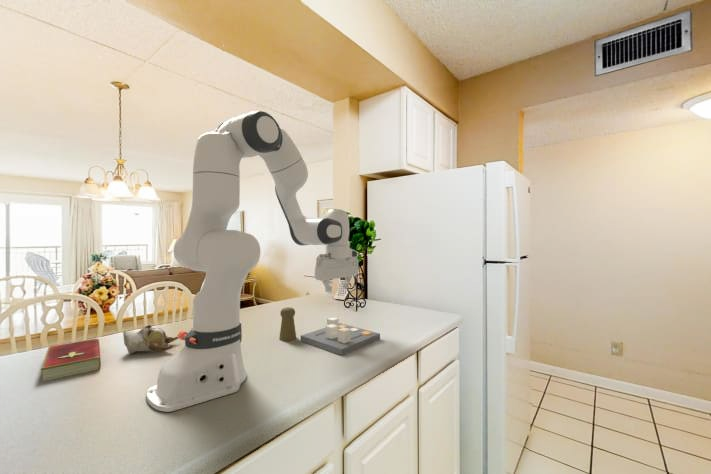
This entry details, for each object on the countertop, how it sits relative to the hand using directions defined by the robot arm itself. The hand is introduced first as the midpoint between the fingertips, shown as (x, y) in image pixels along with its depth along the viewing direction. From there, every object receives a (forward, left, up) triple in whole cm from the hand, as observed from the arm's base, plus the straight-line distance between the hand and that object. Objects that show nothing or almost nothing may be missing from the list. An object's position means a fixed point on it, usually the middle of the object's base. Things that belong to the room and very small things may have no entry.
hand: (337, 289), depth 118 cm
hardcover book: (-69, +41, -18) cm, 82 cm away
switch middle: (-8, -5, -15) cm, 18 cm away
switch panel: (-4, -5, -17) cm, 18 cm away
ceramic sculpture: (-51, +35, -17) cm, 64 cm away
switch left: (-2, +1, -15) cm, 15 cm away
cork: (-15, +11, -17) cm, 25 cm away
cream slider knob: (-8, -11, -15) cm, 20 cm away
